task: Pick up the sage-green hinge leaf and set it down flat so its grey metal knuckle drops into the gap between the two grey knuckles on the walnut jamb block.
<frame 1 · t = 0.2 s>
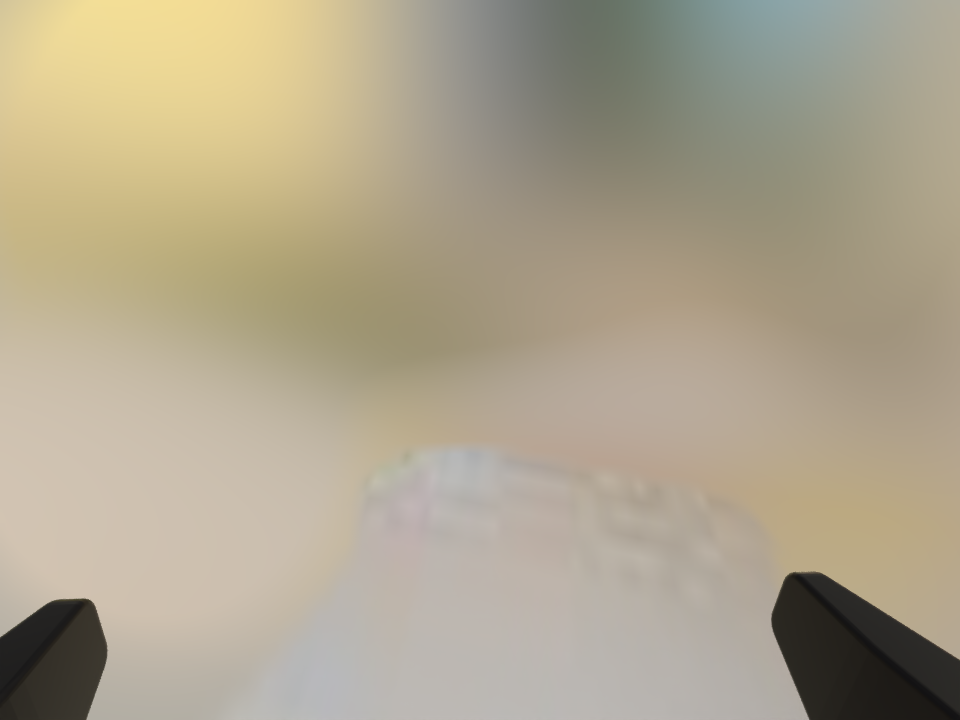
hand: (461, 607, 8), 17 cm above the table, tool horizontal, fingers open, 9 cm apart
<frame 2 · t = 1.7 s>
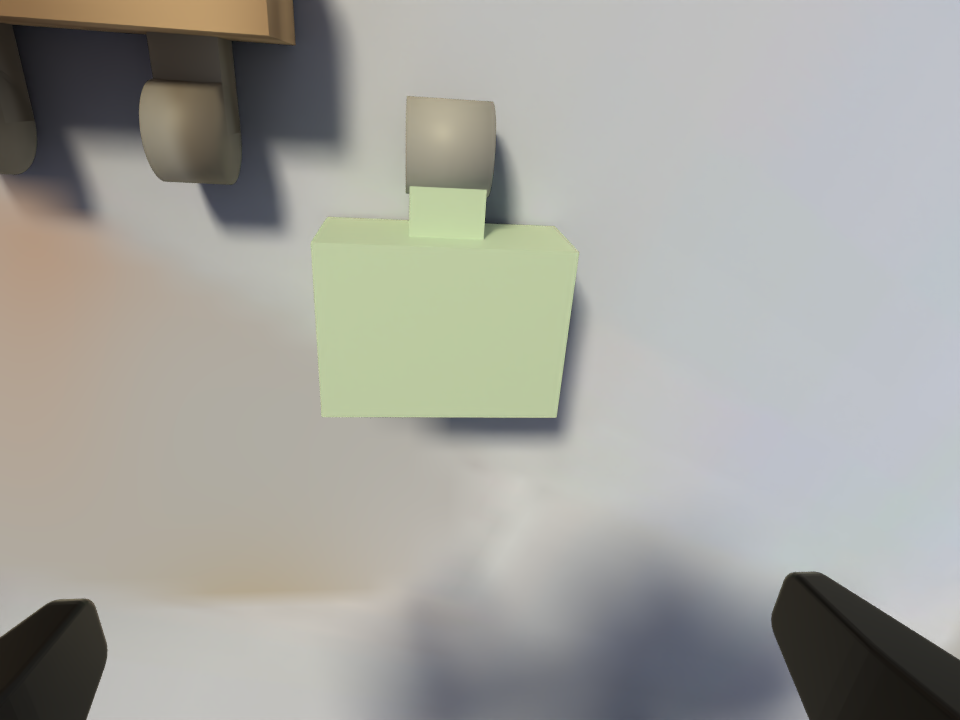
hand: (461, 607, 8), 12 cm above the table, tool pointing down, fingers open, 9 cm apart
hinge base: (107, 124, 16), on the table
hinge leaf: (446, 143, 17), on the table
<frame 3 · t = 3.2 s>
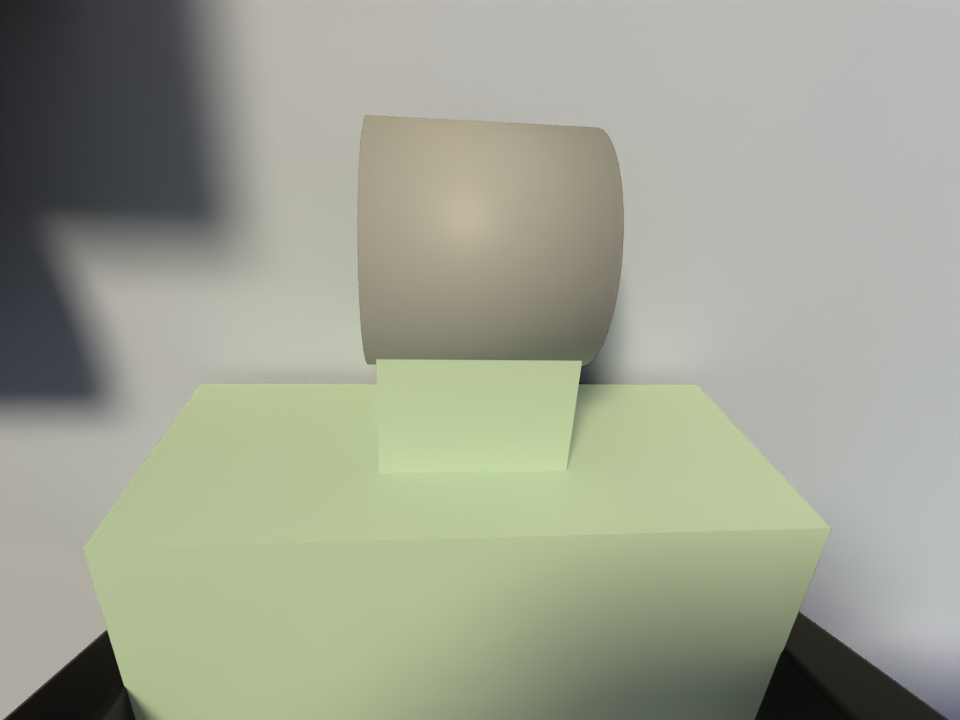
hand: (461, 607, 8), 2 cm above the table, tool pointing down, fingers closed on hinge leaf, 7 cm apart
hinge leaf: (468, 222, 7), on the table, touching gripper
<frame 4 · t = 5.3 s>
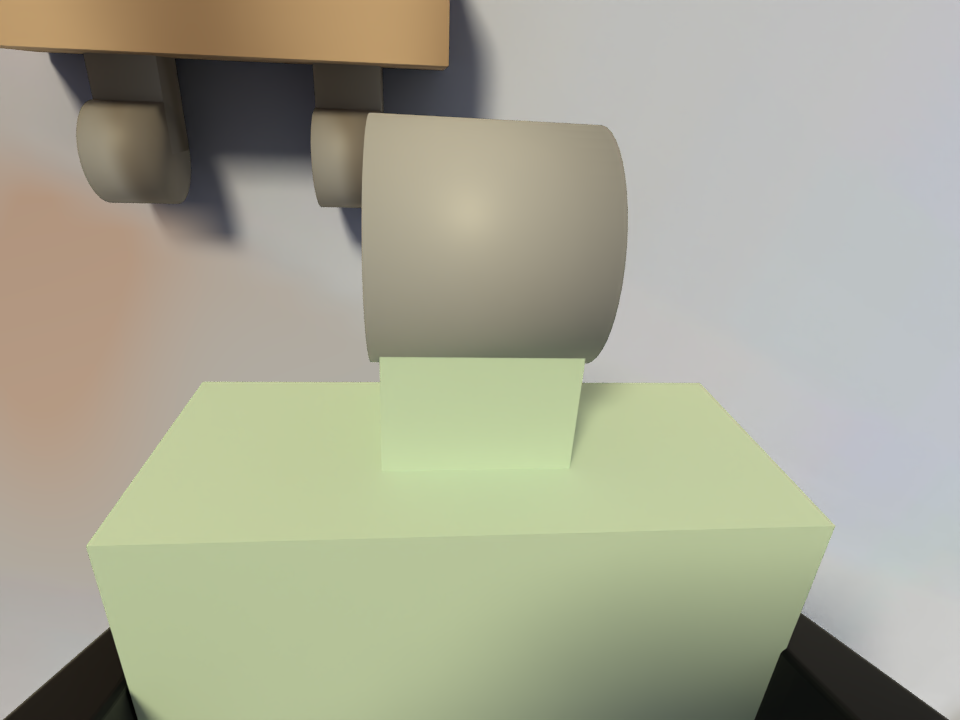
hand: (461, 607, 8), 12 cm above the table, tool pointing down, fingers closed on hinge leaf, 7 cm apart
hinge base: (258, 152, 16), on the table
hinge leaf: (471, 220, 7), point 10 cm above the table, touching gripper
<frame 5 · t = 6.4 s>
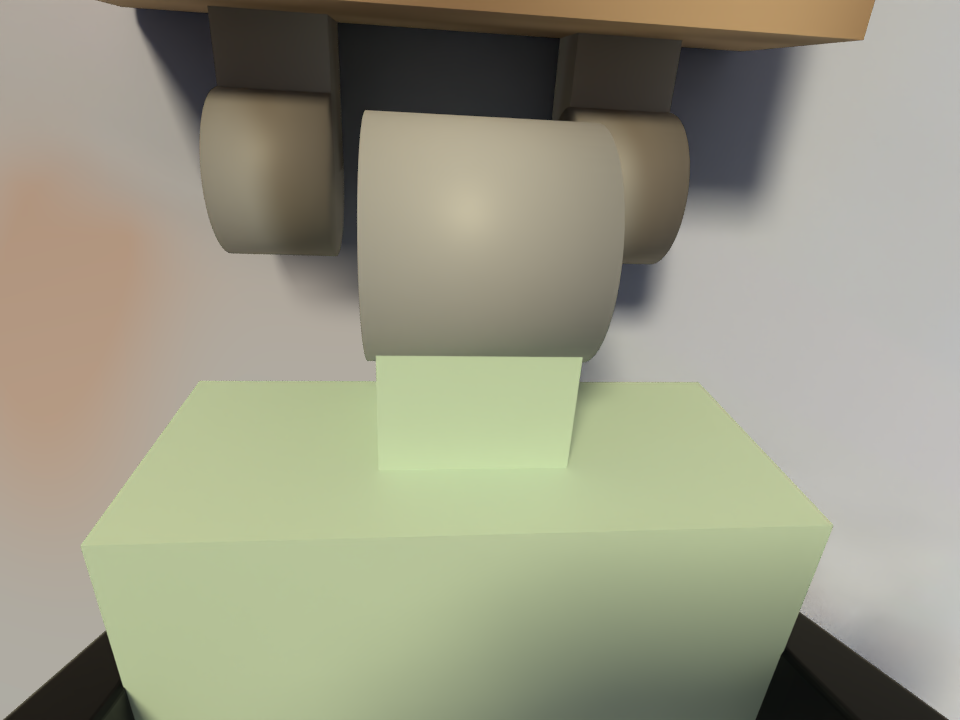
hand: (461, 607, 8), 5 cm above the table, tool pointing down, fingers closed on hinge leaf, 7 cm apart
hinge base: (446, 172, 10), on the table
hinge leaf: (468, 219, 7), point 4 cm above the table, touching gripper
when the fingers open (2 cm above the table, at t = 7.5 s): hinge leaf stays where it is, on the table.
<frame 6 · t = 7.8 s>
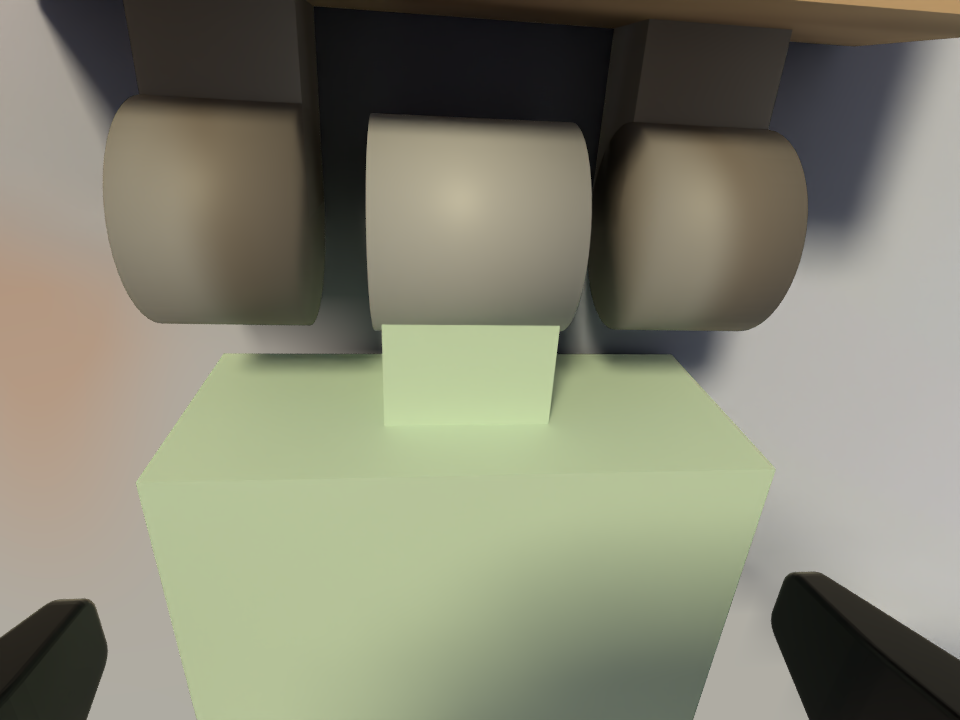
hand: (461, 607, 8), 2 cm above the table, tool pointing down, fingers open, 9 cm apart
hinge base: (460, 205, 8), on the table
hinge leaf: (462, 207, 8), on the table
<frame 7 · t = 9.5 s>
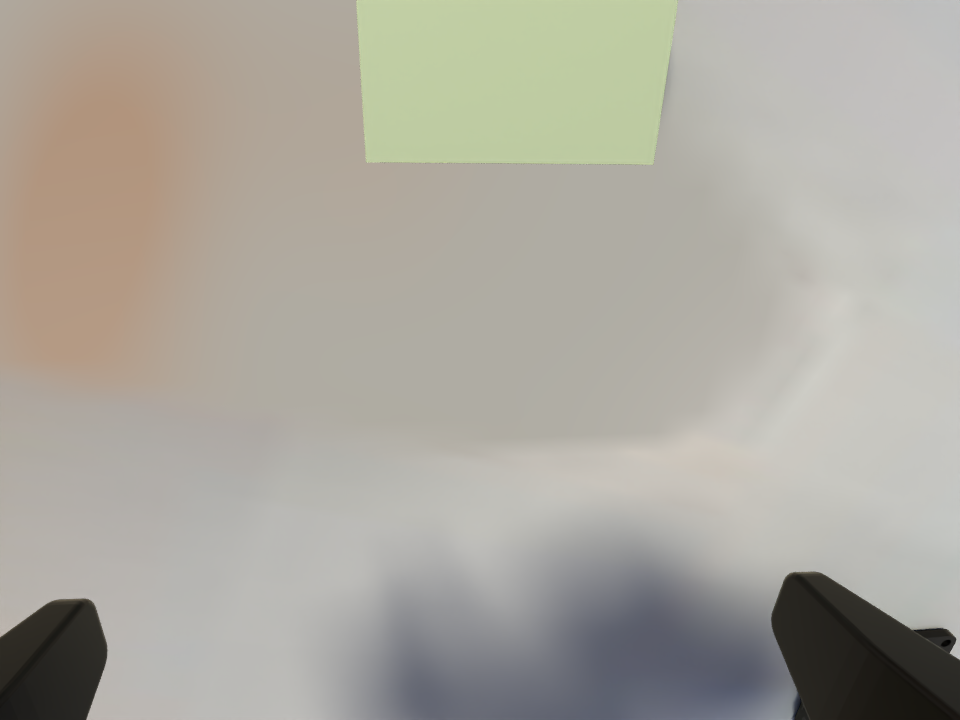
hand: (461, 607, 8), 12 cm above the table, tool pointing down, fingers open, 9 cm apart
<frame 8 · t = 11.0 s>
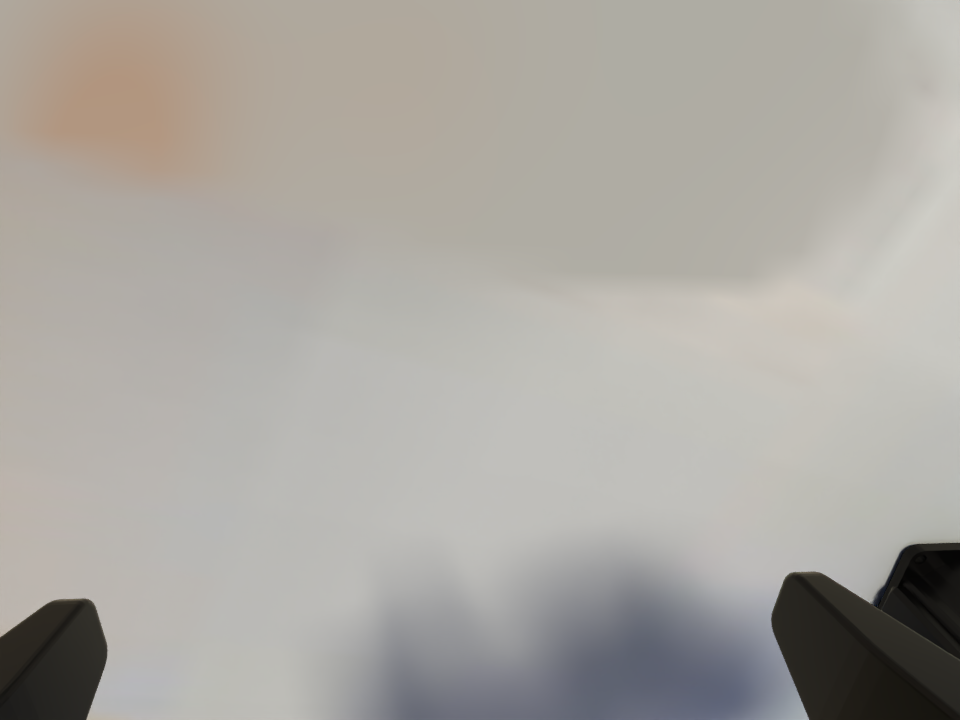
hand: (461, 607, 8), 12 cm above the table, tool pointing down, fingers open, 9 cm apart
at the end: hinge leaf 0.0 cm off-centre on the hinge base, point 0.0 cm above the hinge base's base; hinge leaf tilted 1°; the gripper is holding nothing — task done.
